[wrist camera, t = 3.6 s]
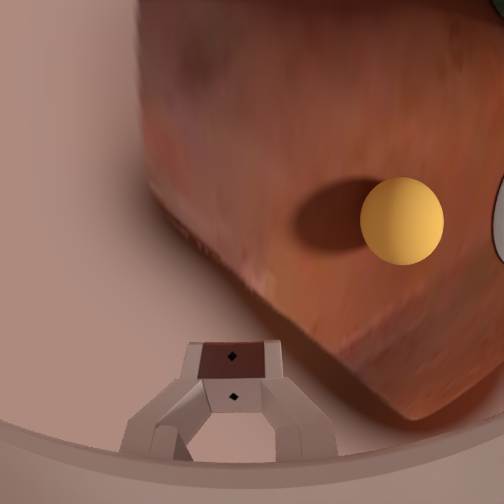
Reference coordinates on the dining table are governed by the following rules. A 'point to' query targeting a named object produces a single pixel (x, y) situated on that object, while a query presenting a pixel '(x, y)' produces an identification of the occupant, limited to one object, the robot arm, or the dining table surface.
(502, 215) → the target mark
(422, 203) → the ball
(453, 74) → the dining table surface
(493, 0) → the coffee jar
